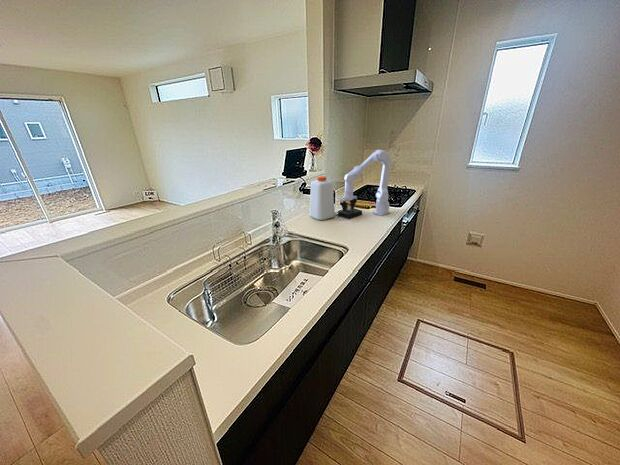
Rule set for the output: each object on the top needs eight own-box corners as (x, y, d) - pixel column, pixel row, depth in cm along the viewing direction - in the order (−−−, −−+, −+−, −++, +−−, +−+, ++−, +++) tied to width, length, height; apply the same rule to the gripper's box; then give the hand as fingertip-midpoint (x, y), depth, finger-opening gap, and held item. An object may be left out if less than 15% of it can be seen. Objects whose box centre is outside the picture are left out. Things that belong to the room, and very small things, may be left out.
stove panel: (351, 211, 187) (351, 207, 186) (361, 214, 180) (362, 210, 179) (337, 215, 180) (338, 211, 178) (348, 219, 172) (348, 214, 171)
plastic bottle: (337, 217, 177) (337, 177, 165) (319, 221, 169) (319, 180, 158) (324, 211, 188) (323, 174, 177) (307, 215, 180) (306, 176, 169)
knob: (348, 209, 181) (348, 203, 180) (352, 211, 178) (352, 205, 177) (344, 210, 179) (344, 205, 177) (348, 212, 176) (348, 206, 174)
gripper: (351, 188, 180) (351, 207, 186) (337, 192, 172) (336, 211, 178) (359, 190, 175) (358, 209, 180) (344, 194, 167) (343, 213, 172)
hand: (348, 210), depth 179 cm, fingers open, 7 cm apart
